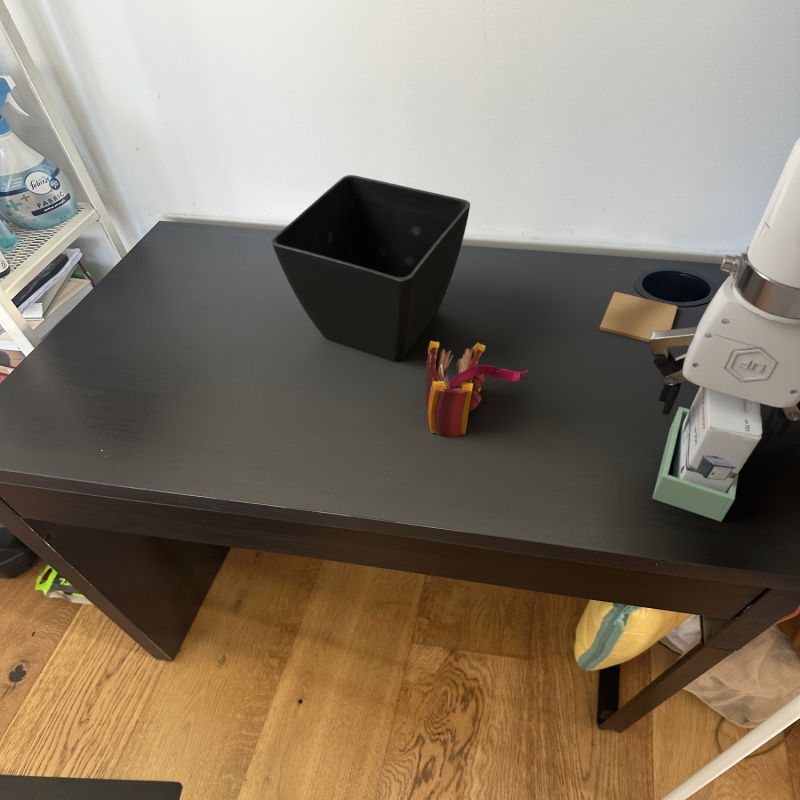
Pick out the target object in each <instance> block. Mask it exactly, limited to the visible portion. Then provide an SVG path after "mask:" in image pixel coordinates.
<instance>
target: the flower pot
mask: <svg viewBox="0 0 800 800" xmlns="http://www.w3.org/2000/svg"><path fill="white" fill-rule="evenodd" d="M470 210H471V202H470V201H468V200H466V199H464V198H459V197H455V196H450V195H445V194H441V193H437V192H432V191H427V190H423V189H419V188H414V187H410V186H404V185H400V184H395V183H391V182H388V181H382V180H377V179H373V178H369V177H364V176H360V175H355V174H346V175H344V176H342V177H341V178H340V179H338V181H336V182H335V183H334V184H333V185H332V186H331V187H330V188H328V189H327V190H326V191H325V192H324V193H322V194H321V195H320V196H319V197H318V198H317V199H315V201H314V202H313V203H311V204H310V205H309V206H308V207H307V208H305V209H304V210H303V211H302V212H301V213H300V214H299V215H298V216H297V217H296V218H295V219H293V220H292V221H291V222H290V223H289V224H287V225H286V226H285V227H284V228H283V229H282V230H281V231H279V232H278V233H277V234H276V235H275V236H274V237H273V238H272V240H271V245H272V248H273V251H274V252H275V255H276V257H277V260H278V262H279V265H280V267H281V269H282V271H283V273H284V276H285V278H286V280H287V282H288V283H289V285H290V288H291V290H292V291H293V294H294V295H295V297H296V298H297V300H298V302H299V304H300V305H301V307H302V308H303V310H304V312H305V314H306V315H307V316H308V318H309V319H310V320H311V322H312V323H313V325H314V327H315V328H316V329H317V331H318V332H319V333H320V335H322V337H323V338H324V339H326V340H330V341H332V342H336V343H339V344H341V345H344V346H347V347H351V348H354V349H357V350H359V351H363V352H366V353H368V354H372V355H375V356H378V357H381V358H383V359H387V360H390V361H393V362H399V361H401V360H403V359H404V358H405V357H406V355H408V352H409V351H410V350H411V348H412V347H413V346H414V344H415V343H416V342H417V341H418V339H419V338H420V336H422V334H423V332H424V331H425V330H426V328H427V327H428V325H429V324H430V323H431V321H432V320H433V319H434V318H435V316H436V314H437V313H438V311H439V309H440V307H441V305H442V303H443V300H444V298H445V295H446V292H447V291H448V287H449V285H450V283H451V279H452V277H453V274H454V272H455V268H456V265H457V262H458V258H459V256H460V252H461V248H462V245H463V241H464V237H465V233H466V228H467V224H468V220H469V215H470Z"/></svg>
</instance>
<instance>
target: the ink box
mask: <svg viewBox="0 0 800 800" xmlns="http://www.w3.org/2000/svg"><path fill="white" fill-rule="evenodd" d="M689 409H690V410H689V412H688V414H687V416H686V418H685V420H684V422H683V424H682V426H681V428H680V430H679V432H678V435H677V439H676V443H675V447H674V451H673V456H672V459H673V462H672V464H673V465H672V476H674V477H677V478H680V479H683V480H686V481H689V482H692V483H695V484H699V485H702V486H705V487H708V488H711V489H714V490H717V491H720V492H723V493H726V492H727V490H728V489H729V487H730V485H731V484H732V482H733V481H734V479H735V478H736V476H737V474H738V475H739V473H740V471H741V469H742V468H743V466H744V465H745V463H746V462H747V460H748V459H749V457H750V455H751V454H752V453H753V451H754V450H755V448H756V446H757V445H758V443H759V442H760V441H761V440H762V435H763V422H762V416H761V415H762V414H761V403H758V402H754V401H751V400H747V399H744V398H740V397H736V396H733V395H729V394H726V393H722V392H719V391H715V390H712V389H708V388H705V387H702V386H699V388H698V390H697V392H696V395H695V397H694V399H693V401H692V403H691V406H690V408H689Z"/></svg>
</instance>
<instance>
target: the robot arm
mask: <svg viewBox="0 0 800 800" xmlns="http://www.w3.org/2000/svg"><path fill="white" fill-rule="evenodd" d="M719 271H721V272H726V273H728V277H727V278H726V279H725V281H724V282H723V283H721V286H720V287H719V288H718V290H717V292H716V293H715V294H714V296H713V297H712V298H711V301H710V302H709V304H708V306H707V308H706V309H705V311H704V313H703V315H702V316H701V319H700V320H699V323H698V324H697V326H693V327H683V328H675V329H673V328H672V329H671V330H664V331H655V332H653V333H652V334H651V337H650V340H649V342H648V345H649V349H650V352H651V355H652V357H653V364H654V366H655V367H656V369H658V371H659V373H660V374H661V375H662V376H663V378H664V379H663V382H664V383H663V385H662V388H661V391H660V392H659V397H658V401H659V402H663V407H662V410H661V415H664V416H667V415H670V414H671V412H672V409H673V406H674V405H675V402H676V400H677V397H678V395H679V393H680V391H681V386H682V383H683V382H686V381H688V382H689V383H692V384H694V385H696V386H698V387H700V386H702V387H705V388H708V389H712V390H715V391H719V392H722V393H726V394H729V395H733V396H736V397H740V398H744V399H747V400H751V401H754V402H758V403H760V405H761V404H762V405H765V406H769V407H773V408H772V410H771V411H770V413H769V415H768V416H767V418H766V420H765V421H764V424H763V430H762V438H761V442H762V444H763V445H764V446H767V447H771V446H772V444H773V443H774V441H775V440H776V438H777V437H782V438H783V436H784V435H785V434H786V432H787V430H789V427H790V426H791V424H792V423H793V422H796V421H800V136H799V137H798V139H797V140H796V141H795V144H794V145H793V147H792V149H791V151H790V153H789V156H788V158H787V160H786V162H785V164H784V167H783V169H782V172H781V173H780V176H779V178H778V181H777V183H776V185H775V187H774V189H773V192H772V194H771V196H770V199H769V201H768V203H767V206H766V208H765V210H764V212H763V215H762V217H761V219H760V221H759V224H758V226H757V228H756V231H755V232H754V234H753V237H752V239H751V242H750V244H749V245H747V247H746V250H745V252H742V253H741V254H740V255H734V256H733V255H728V254H725V255H724V257H723V260H722V262H721V264H720V268H719ZM676 347H688V349H687V352H686V353H684V354H682V355H679V356H677V357H675V356H673V353H672V352H671V351H670V349H669V348H676Z"/></svg>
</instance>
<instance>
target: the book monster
mask: <svg viewBox="0 0 800 800" xmlns="http://www.w3.org/2000/svg"><path fill="white" fill-rule="evenodd" d="M439 347H440V342H439V341H433V340H430V342H429V346H428V349H427V354H428V355H427V360H426V369H425V370H426V377H425V380H426V381H425V384H426V385H425V401H426V402H425V405H426V408H427V413H428V416H427V417H428V418H427V419H428V426H429V430H430V434H437V435H439V436H441V437H453V438H455V437H456V438H457V437H459V436H460V435H466V431H467V427H468V426H467V425H468V419H469V413H470V412H472V411H473V410H475V409H477V408H478V406H479V404H480V403H481V400H482V396H481V394H480V392H481V390H482V385H483V384H484V381H485V376H489V377H492V378H495V379H501V380H504V381H508V382H519V381H520V380H521V379H522V378H523V377H524V376H526V375H528V373H529V370H528V369H526V370H524V371H513V370H511V369H510V370H509V369H505V368H501V369H500V371H498V368H497V366H493V365H487V364H482V365H477V364H478V362H479V360H480V357H481V356H482V354H483V353H484V352H485V350H486V345H484V344H482V343H479V342H476V344H475V345H474V346H473V347H472V348H466V349H465V351H464V354H463V355H462V358H459V359H458V360H457V362H456V363H455V369H456V372H455V373H456V375H455V376H454V377H453V378H452V379H451V381H449V375H448V373H447V368H448V367H449V365H450V363H451V361H452V359H453V357H454V354H451V353H452V350H449V351H447V352H446V349H445V348H442V350H441V351H440V353H439V354H438V352H439V349H440V348H439ZM437 354H438V356H437Z"/></svg>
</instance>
